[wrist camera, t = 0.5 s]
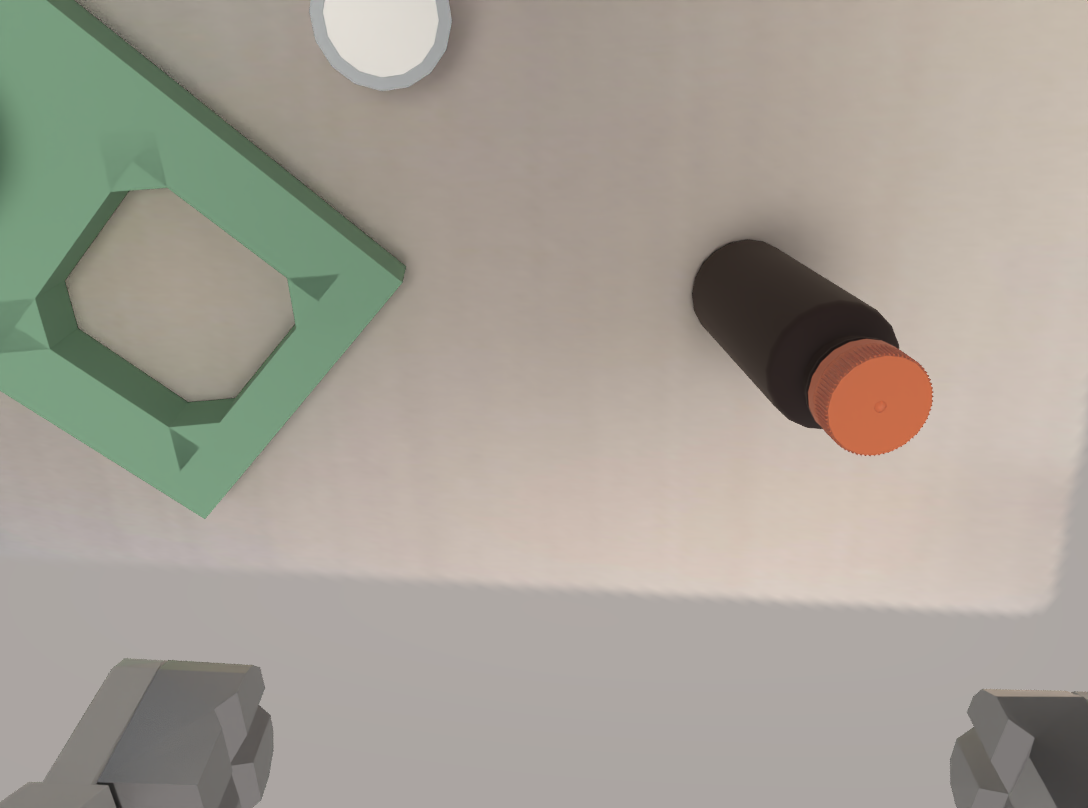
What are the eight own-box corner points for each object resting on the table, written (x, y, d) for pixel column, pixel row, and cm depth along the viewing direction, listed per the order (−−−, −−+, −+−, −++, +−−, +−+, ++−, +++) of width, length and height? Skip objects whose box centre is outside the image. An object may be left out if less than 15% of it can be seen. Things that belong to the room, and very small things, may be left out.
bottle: (769, 350, 58) (914, 489, 40) (676, 325, 57) (781, 457, 38) (808, 254, 56) (981, 354, 37) (712, 225, 55) (842, 315, 36)
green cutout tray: (-276, 170, 48) (-336, 180, 44) (-99, -138, 44) (-150, -156, 40) (220, 489, 58) (204, 519, 55) (405, 266, 54) (402, 282, 50)
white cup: (310, 51, 49) (288, 51, 42) (355, -73, 47) (339, -93, 40) (423, 107, 50) (418, 115, 44) (472, -10, 48) (474, -19, 42)
